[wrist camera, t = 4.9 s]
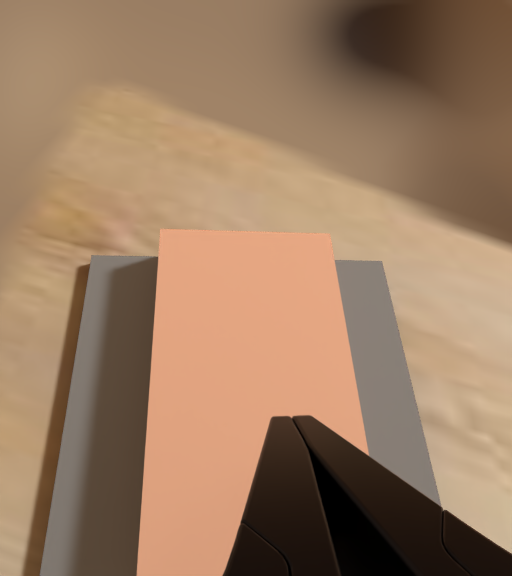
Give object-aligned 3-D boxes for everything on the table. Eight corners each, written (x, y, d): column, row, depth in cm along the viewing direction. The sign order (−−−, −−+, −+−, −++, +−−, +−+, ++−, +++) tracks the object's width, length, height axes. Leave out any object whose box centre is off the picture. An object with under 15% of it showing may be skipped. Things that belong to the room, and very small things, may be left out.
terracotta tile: (390, 578, 12) (329, 233, 18) (134, 600, 11) (160, 228, 17) (368, 571, 13) (319, 257, 19) (142, 590, 12) (163, 254, 18)
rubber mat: (525, 896, 11) (539, 912, 10) (-24, 1009, 9) (-36, 1034, 8) (377, 266, 20) (381, 261, 19) (94, 261, 18) (91, 255, 18)
